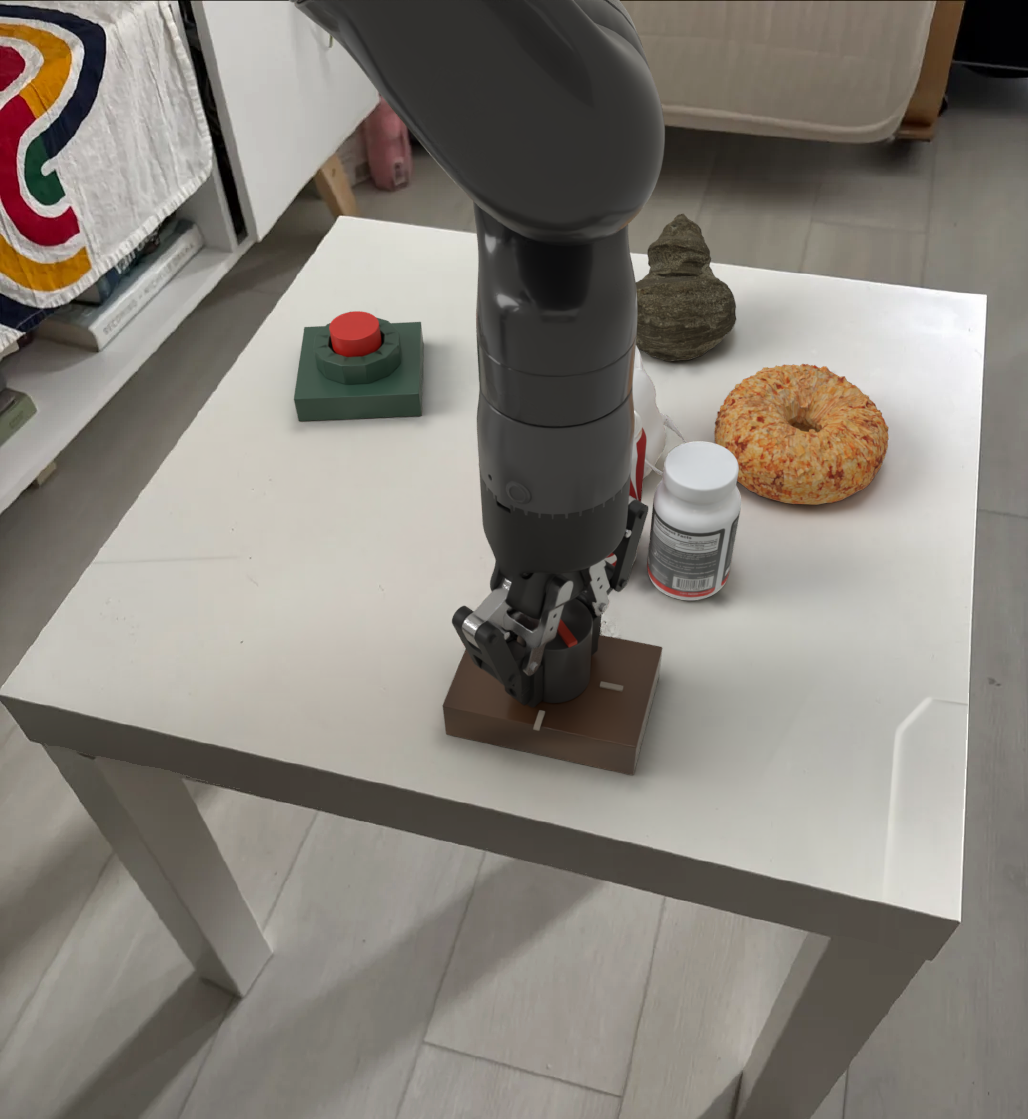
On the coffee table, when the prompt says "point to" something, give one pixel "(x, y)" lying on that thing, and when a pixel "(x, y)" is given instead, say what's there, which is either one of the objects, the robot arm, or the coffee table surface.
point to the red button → (355, 334)
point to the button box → (361, 376)
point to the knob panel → (564, 709)
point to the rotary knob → (567, 655)
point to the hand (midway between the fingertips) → (553, 671)
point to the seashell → (682, 296)
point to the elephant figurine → (650, 415)
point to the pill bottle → (694, 521)
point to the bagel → (802, 434)
